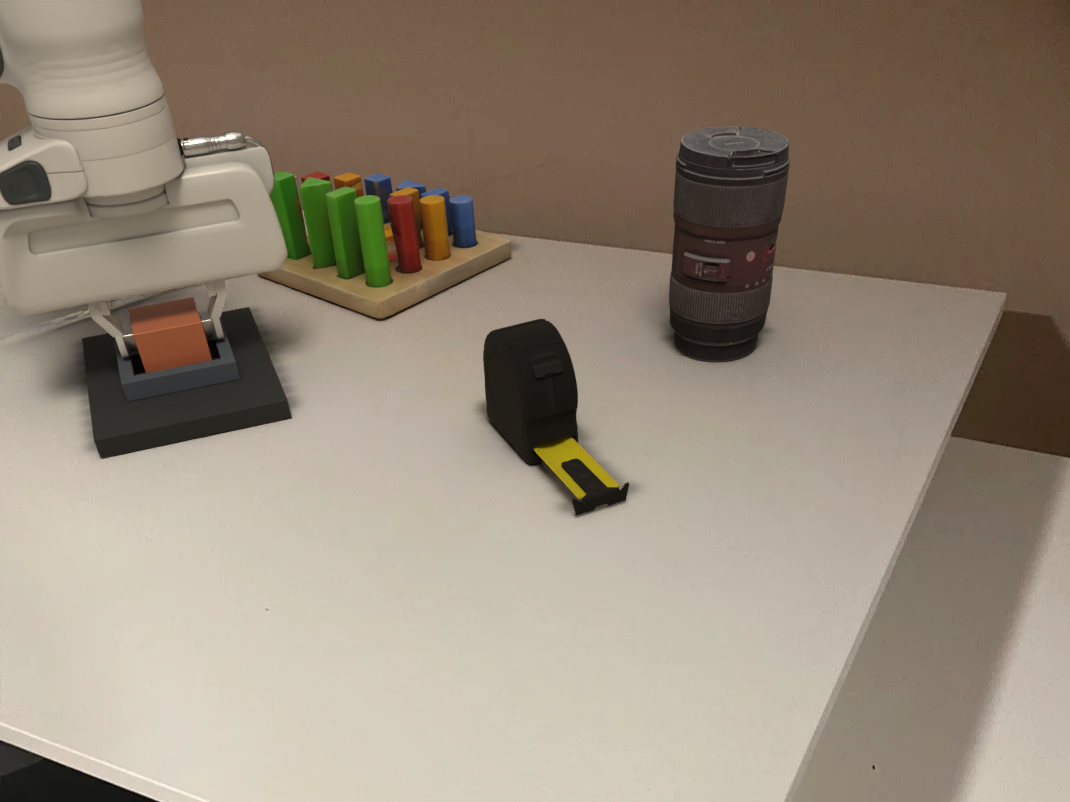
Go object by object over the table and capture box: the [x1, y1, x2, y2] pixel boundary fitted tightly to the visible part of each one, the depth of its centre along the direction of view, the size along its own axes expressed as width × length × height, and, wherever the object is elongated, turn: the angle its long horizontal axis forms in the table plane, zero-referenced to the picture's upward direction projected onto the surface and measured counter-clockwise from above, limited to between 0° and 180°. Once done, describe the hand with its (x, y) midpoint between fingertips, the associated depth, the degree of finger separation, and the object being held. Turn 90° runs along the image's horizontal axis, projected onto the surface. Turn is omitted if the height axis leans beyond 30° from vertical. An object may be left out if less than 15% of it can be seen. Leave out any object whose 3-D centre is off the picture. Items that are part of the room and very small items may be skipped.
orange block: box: [127, 296, 212, 373], centre depth 78 cm, size 5×5×4 cm
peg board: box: [258, 170, 512, 319], centre depth 93 cm, size 18×17×9 cm
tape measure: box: [482, 318, 630, 517], centre depth 68 cm, size 15×4×8 cm, turn 25°
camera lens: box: [668, 125, 791, 363], centre depth 77 cm, size 8×8×15 cm
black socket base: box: [81, 306, 292, 459], centre depth 80 cm, size 18×14×3 cm
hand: (172, 345), depth 78 cm, fingers closed on orange block, 5 cm apart
